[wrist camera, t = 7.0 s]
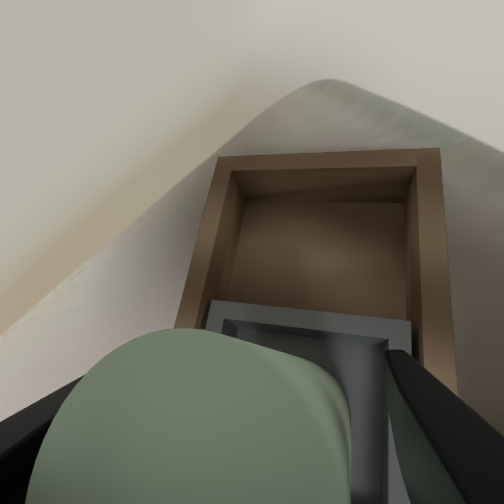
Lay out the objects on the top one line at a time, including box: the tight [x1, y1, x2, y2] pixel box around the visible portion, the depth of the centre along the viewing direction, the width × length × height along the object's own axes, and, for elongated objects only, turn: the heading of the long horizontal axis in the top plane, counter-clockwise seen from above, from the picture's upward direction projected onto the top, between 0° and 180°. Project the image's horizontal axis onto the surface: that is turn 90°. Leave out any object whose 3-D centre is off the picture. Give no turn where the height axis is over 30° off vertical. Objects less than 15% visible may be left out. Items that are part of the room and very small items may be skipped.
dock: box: [174, 148, 458, 396], centre depth 14 cm, size 18×11×4 cm, turn 170°
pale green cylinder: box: [25, 328, 351, 504], centre depth 9 cm, size 5×5×11 cm
